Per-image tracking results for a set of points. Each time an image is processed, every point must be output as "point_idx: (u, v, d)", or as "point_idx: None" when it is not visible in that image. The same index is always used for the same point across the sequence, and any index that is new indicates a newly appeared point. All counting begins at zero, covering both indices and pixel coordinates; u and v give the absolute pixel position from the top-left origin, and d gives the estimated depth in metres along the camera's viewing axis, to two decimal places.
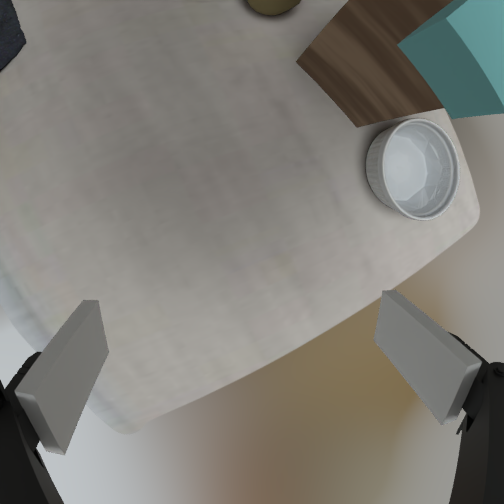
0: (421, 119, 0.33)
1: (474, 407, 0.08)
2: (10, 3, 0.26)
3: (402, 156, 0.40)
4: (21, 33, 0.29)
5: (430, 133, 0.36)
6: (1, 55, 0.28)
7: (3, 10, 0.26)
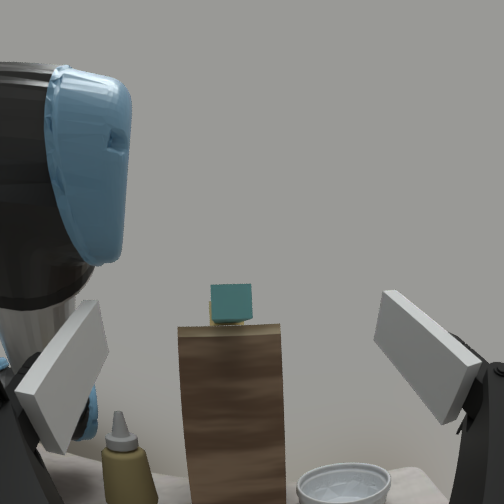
0: (302, 476, 0.37)
1: (474, 407, 0.08)
2: None
3: None
4: None
5: (320, 480, 0.38)
6: None
7: None
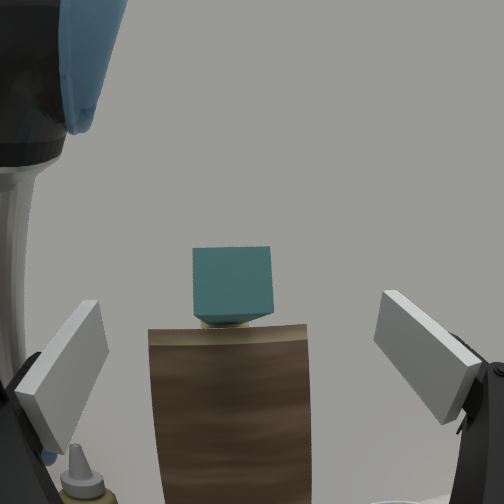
0: None
1: (474, 407, 0.08)
2: None
3: None
4: None
5: None
6: None
7: None
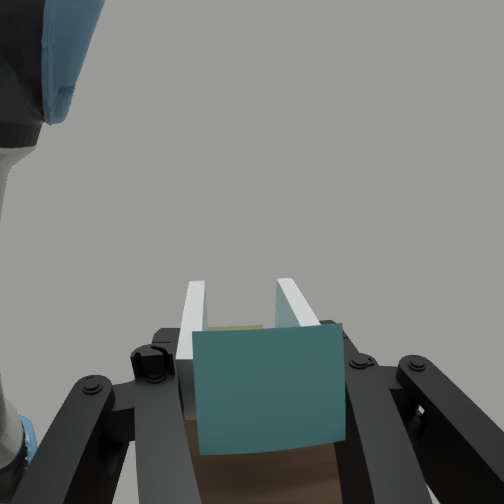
0: None
1: None
2: None
3: None
4: None
5: None
6: None
7: None
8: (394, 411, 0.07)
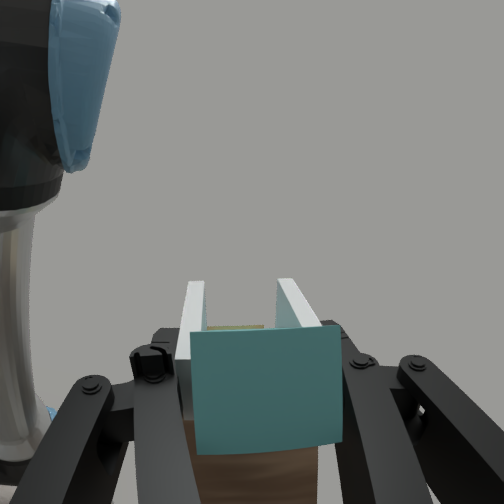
0: None
1: None
2: None
3: None
4: None
5: None
6: None
7: None
8: (395, 411, 0.07)
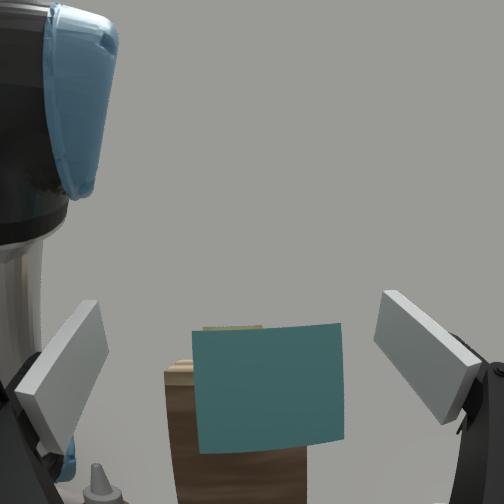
0: None
1: (474, 407, 0.08)
2: None
3: None
4: None
5: None
6: None
7: None
8: None
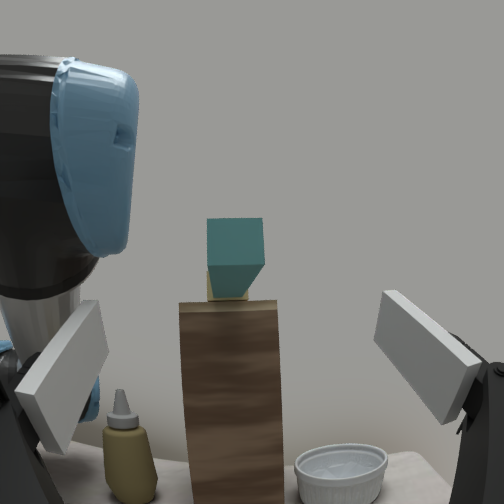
0: (300, 455, 0.39)
1: (474, 407, 0.08)
2: None
3: None
4: None
5: (318, 461, 0.41)
6: None
7: None
8: None
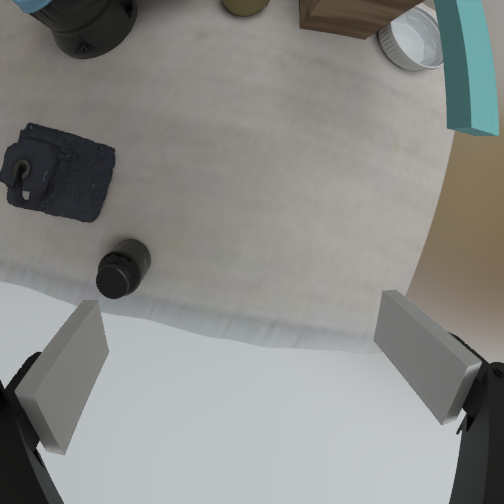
0: None
1: (474, 407, 0.08)
2: (59, 131, 0.44)
3: (399, 35, 0.44)
4: (102, 145, 0.46)
5: None
6: (101, 171, 0.45)
7: (60, 140, 0.43)
8: None
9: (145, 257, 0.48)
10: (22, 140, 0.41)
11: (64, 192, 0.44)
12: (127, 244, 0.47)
